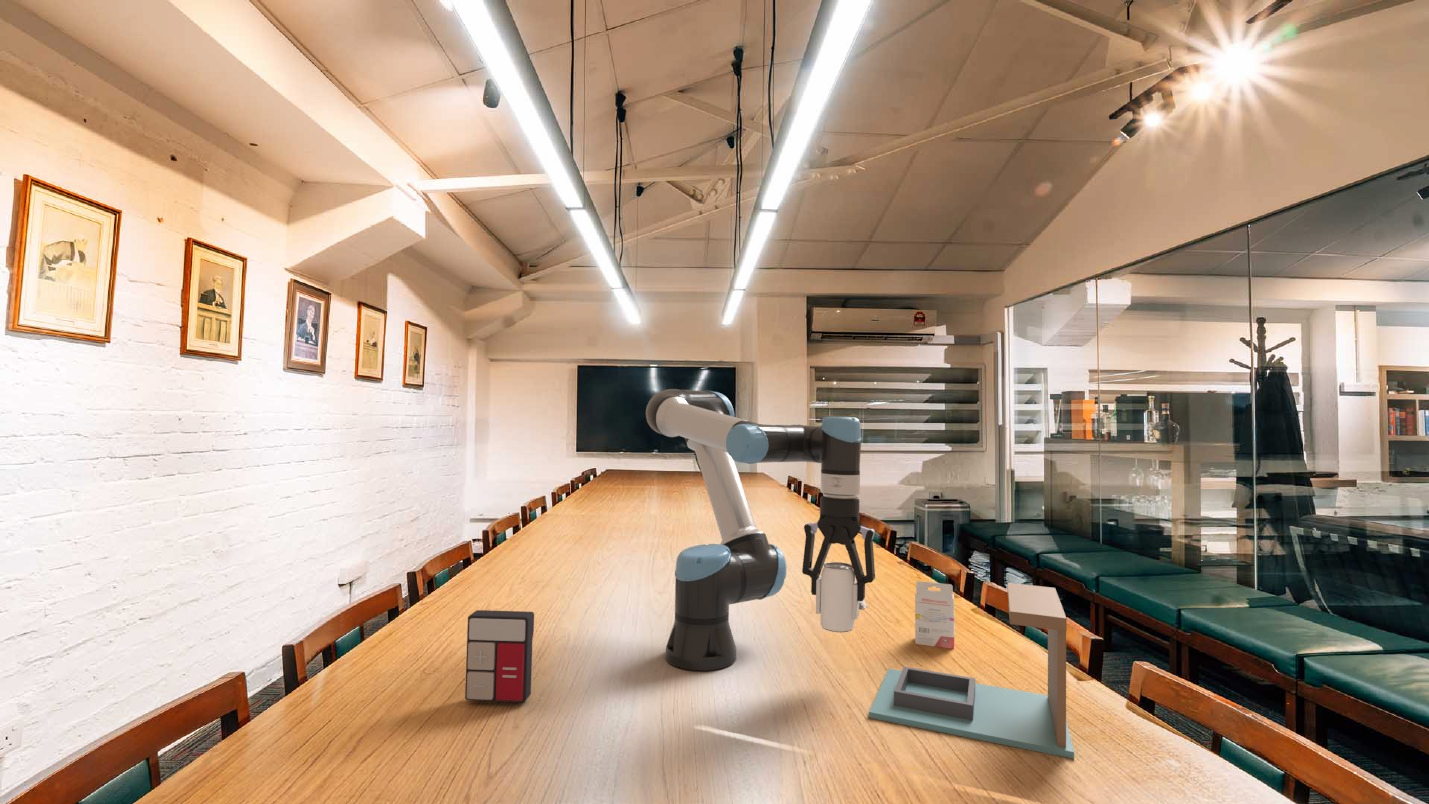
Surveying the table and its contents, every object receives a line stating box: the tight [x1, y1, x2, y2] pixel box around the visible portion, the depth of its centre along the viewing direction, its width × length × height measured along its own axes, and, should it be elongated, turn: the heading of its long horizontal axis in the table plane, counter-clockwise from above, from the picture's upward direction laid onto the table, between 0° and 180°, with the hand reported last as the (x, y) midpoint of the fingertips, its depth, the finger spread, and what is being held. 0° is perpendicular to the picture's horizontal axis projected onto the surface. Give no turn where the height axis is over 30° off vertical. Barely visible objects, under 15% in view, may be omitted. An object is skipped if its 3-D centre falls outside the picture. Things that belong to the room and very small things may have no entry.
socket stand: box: [868, 582, 1075, 760], centre depth 115 cm, size 31×22×21 cm
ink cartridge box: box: [914, 580, 955, 650], centre depth 149 cm, size 9×5×15 cm, turn 68°
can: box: [819, 561, 856, 633], centre depth 125 cm, size 6×6×12 cm
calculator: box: [464, 609, 535, 703], centre depth 116 cm, size 11×4×15 cm, turn 88°
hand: (837, 614), depth 125 cm, fingers closed on can, 6 cm apart
